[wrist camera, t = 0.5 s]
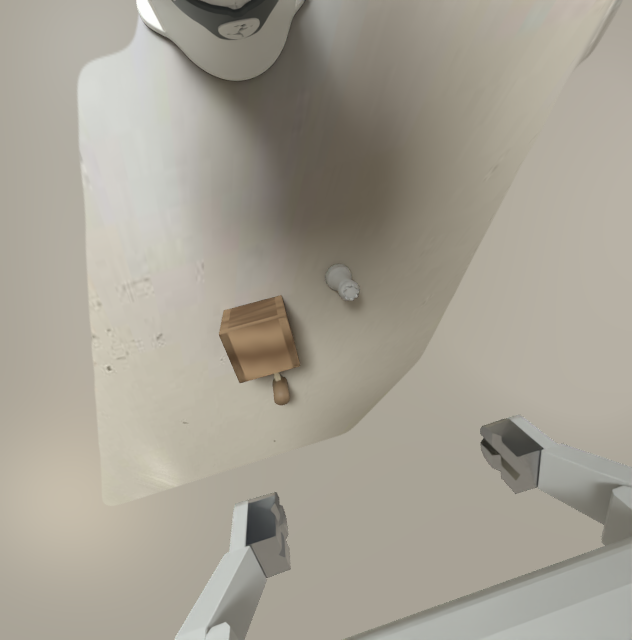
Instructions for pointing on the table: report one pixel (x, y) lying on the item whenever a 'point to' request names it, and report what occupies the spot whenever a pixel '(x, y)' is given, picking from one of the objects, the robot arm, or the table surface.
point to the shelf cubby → (258, 339)
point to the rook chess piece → (342, 282)
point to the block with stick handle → (280, 390)
